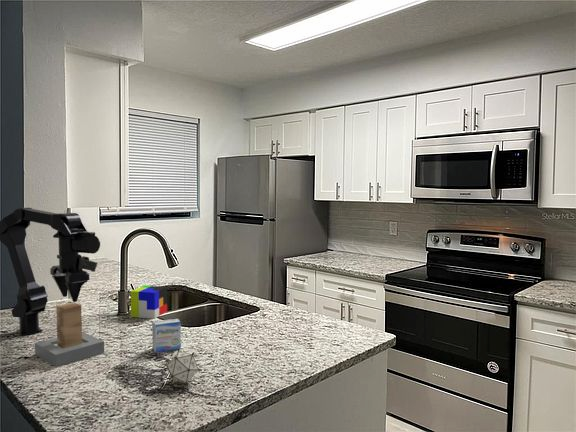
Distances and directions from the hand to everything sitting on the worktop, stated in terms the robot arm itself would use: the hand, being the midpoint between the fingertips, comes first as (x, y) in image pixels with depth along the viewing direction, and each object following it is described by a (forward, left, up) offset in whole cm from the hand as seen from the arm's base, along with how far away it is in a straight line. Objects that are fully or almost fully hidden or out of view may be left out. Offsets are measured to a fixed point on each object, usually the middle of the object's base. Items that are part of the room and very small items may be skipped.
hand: (70, 299), depth 145 cm
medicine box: (+30, +18, -13) cm, 37 cm away
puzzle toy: (-8, +32, -13) cm, 36 cm away
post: (+14, -5, -10) cm, 18 cm away
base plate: (+14, -5, -13) cm, 20 cm away
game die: (+54, +9, -13) cm, 56 cm away
